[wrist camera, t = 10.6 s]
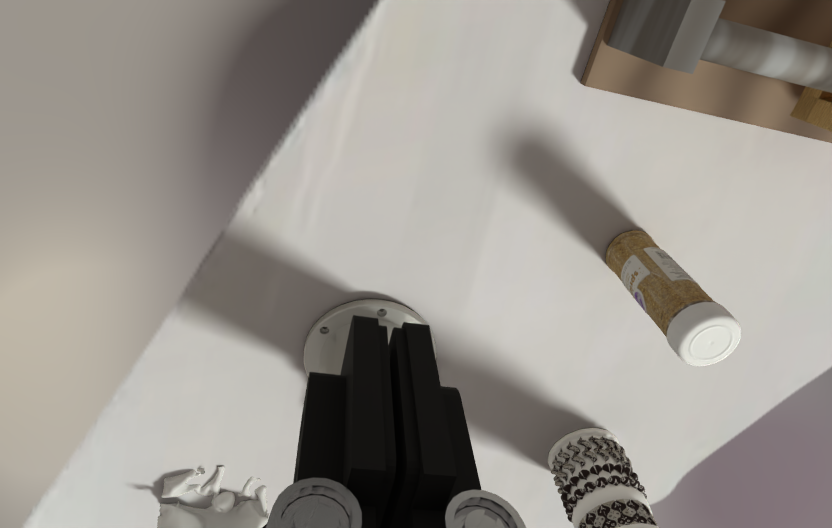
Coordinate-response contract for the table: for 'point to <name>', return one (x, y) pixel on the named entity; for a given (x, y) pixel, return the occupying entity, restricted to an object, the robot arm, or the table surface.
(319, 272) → the table surface
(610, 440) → the decorative candle
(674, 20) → the machine model on base
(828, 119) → the sleeve
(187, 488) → the grey relief sculpture
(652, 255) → the sprinkles bottle
